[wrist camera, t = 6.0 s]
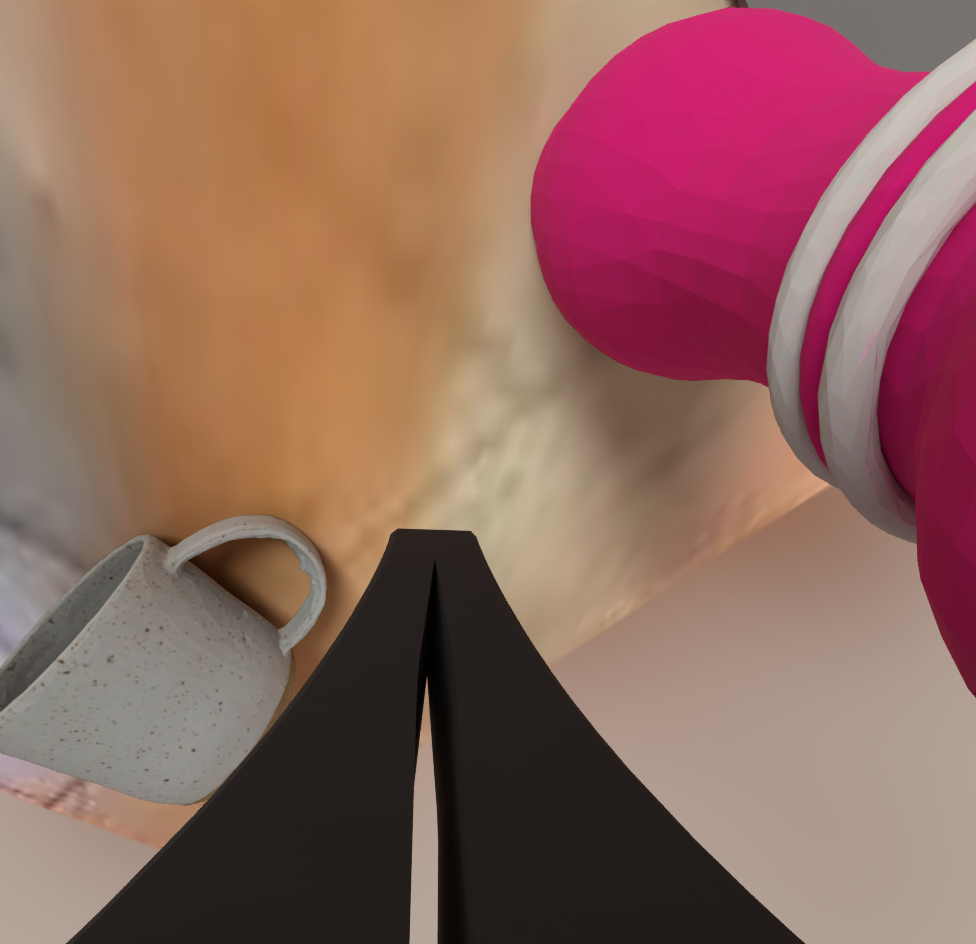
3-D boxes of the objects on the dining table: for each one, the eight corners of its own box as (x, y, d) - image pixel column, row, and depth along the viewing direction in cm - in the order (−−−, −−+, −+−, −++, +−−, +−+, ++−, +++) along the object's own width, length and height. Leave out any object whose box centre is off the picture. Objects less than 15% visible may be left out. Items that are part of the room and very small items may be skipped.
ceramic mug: (215, 688, 25) (145, 865, 19) (55, 595, 22) (-97, 775, 15) (377, 578, 23) (358, 739, 17) (227, 454, 19) (131, 598, 13)
